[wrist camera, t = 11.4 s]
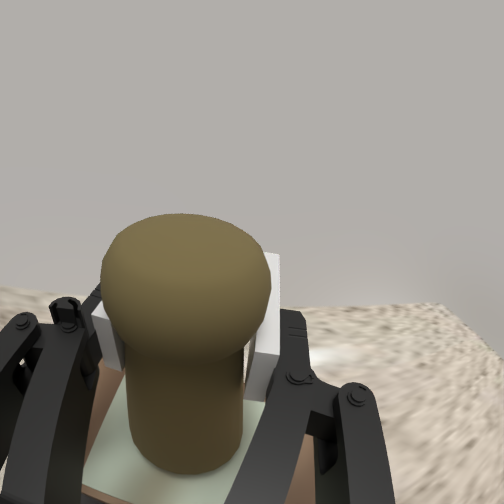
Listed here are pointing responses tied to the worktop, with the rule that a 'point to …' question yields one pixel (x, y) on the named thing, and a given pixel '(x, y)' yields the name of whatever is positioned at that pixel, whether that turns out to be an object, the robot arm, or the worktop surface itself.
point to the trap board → (154, 478)
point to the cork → (185, 333)
